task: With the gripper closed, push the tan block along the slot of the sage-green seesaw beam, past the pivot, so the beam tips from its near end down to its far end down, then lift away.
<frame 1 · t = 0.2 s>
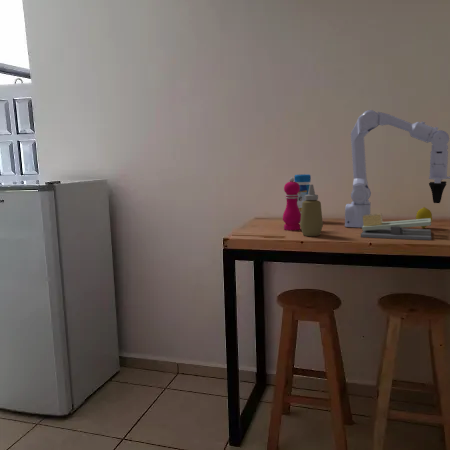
hand: (437, 201, 167), 10 cm above the table, tool pointing down, fingers open, 7 cm apart
pivot stand: (396, 234, 160), on the table
pepper mill: (292, 229, 178), on the table
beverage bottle: (302, 221, 197), on the table
beam: (396, 225, 159), point 3 cm above the table, hinge at -6.8°, touching tan block
lemon: (423, 228, 171), on the table
tan block: (373, 224, 162), point 3 cm above the table, tilted 7°, touching beam
squeeze bottle: (311, 235, 164), on the table
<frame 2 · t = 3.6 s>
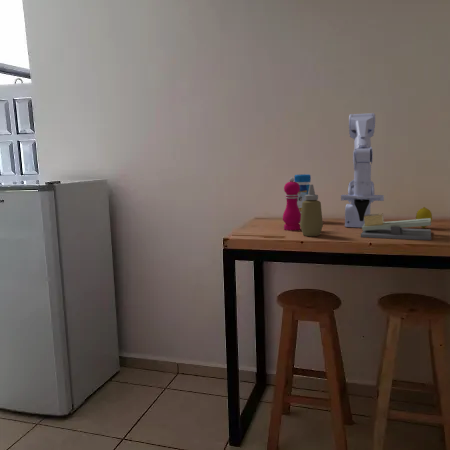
hand: (361, 220, 164), 5 cm above the table, tool pointing down, fingers closed
beam: (396, 225, 159), point 3 cm above the table, hinge at -6.8°
tan block: (374, 224, 162), point 3 cm above the table, tilted 7°, touching gripper
everything else where it was.
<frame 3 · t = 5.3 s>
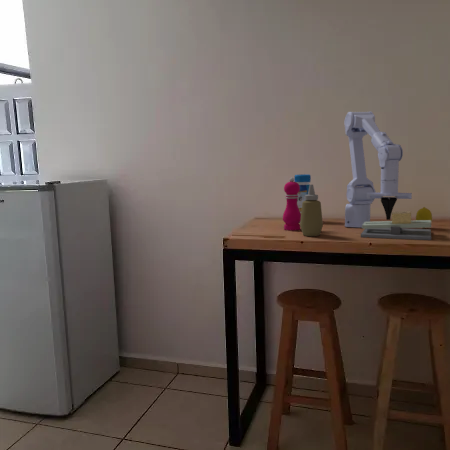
hand: (388, 219, 160), 5 cm above the table, tool pointing down, fingers closed
beam: (396, 225, 159), point 3 cm above the table, hinge at -3.2°, touching tan block
tan block: (401, 222, 159), point 4 cm above the table, touching beam, gripper
everything else where it was.
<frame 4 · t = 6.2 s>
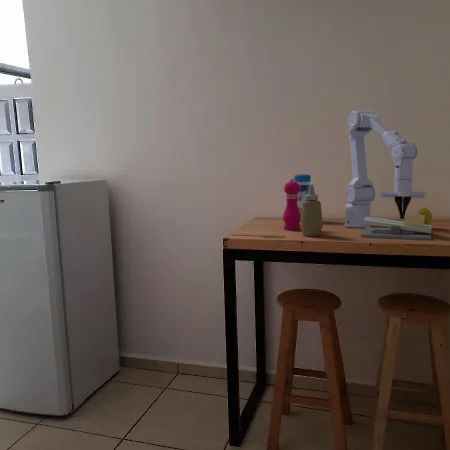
hand: (402, 218, 158), 6 cm above the table, tool pointing down, fingers closed
beam: (396, 225, 159), point 3 cm above the table, hinge at 6.7°
tan block: (413, 224, 157), point 4 cm above the table, tilted 7°, touching gripper
everything else where it was.
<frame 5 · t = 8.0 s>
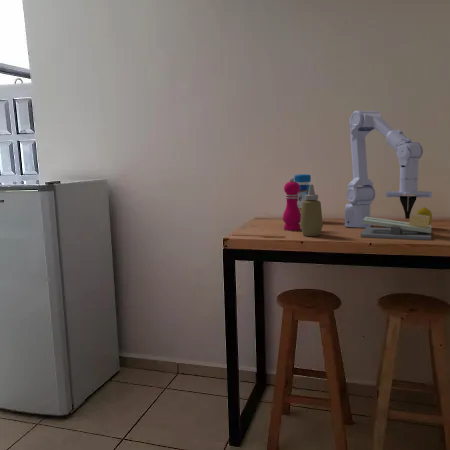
hand: (407, 218, 158), 6 cm above the table, tool pointing down, fingers closed
beam: (396, 225, 159), point 3 cm above the table, hinge at 6.8°, touching tan block
tan block: (418, 225, 157), point 3 cm above the table, tilted 7°, touching beam, gripper
everything else where it was.
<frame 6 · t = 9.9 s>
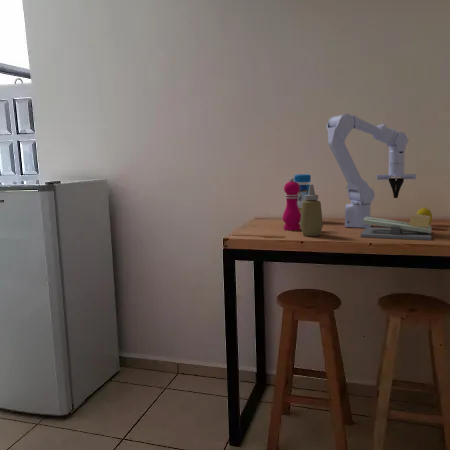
hand: (395, 197, 182), 10 cm above the table, tool pointing down, fingers closed
tan block: (418, 225, 157), point 3 cm above the table, tilted 7°, touching beam
everything else where it was.
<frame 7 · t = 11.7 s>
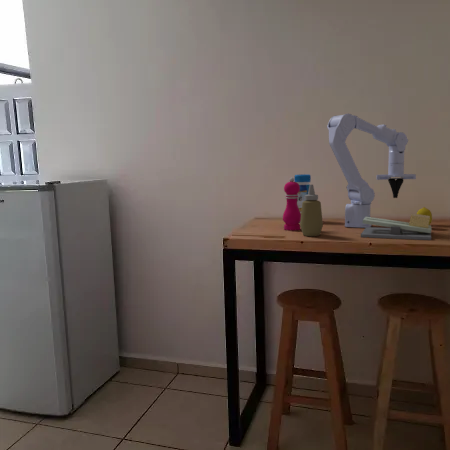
hand: (395, 197, 183), 10 cm above the table, tool pointing down, fingers closed
nothing on the table moved.
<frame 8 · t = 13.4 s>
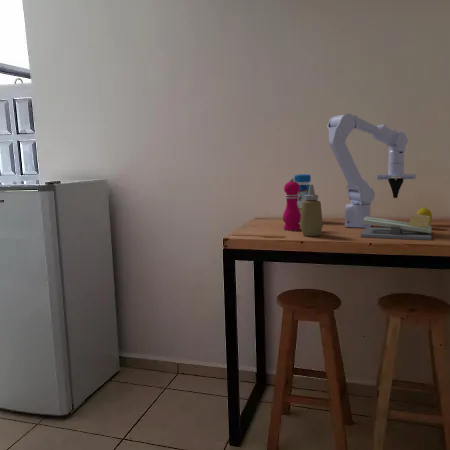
hand: (395, 197, 183), 10 cm above the table, tool pointing down, fingers closed
nothing on the table moved.
at the end: beam at +7° (first picture: -7°); tan block 0.6 cm from the target spot on the beam, point 0.4 cm above the beam's base; tan block tilted 7° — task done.
